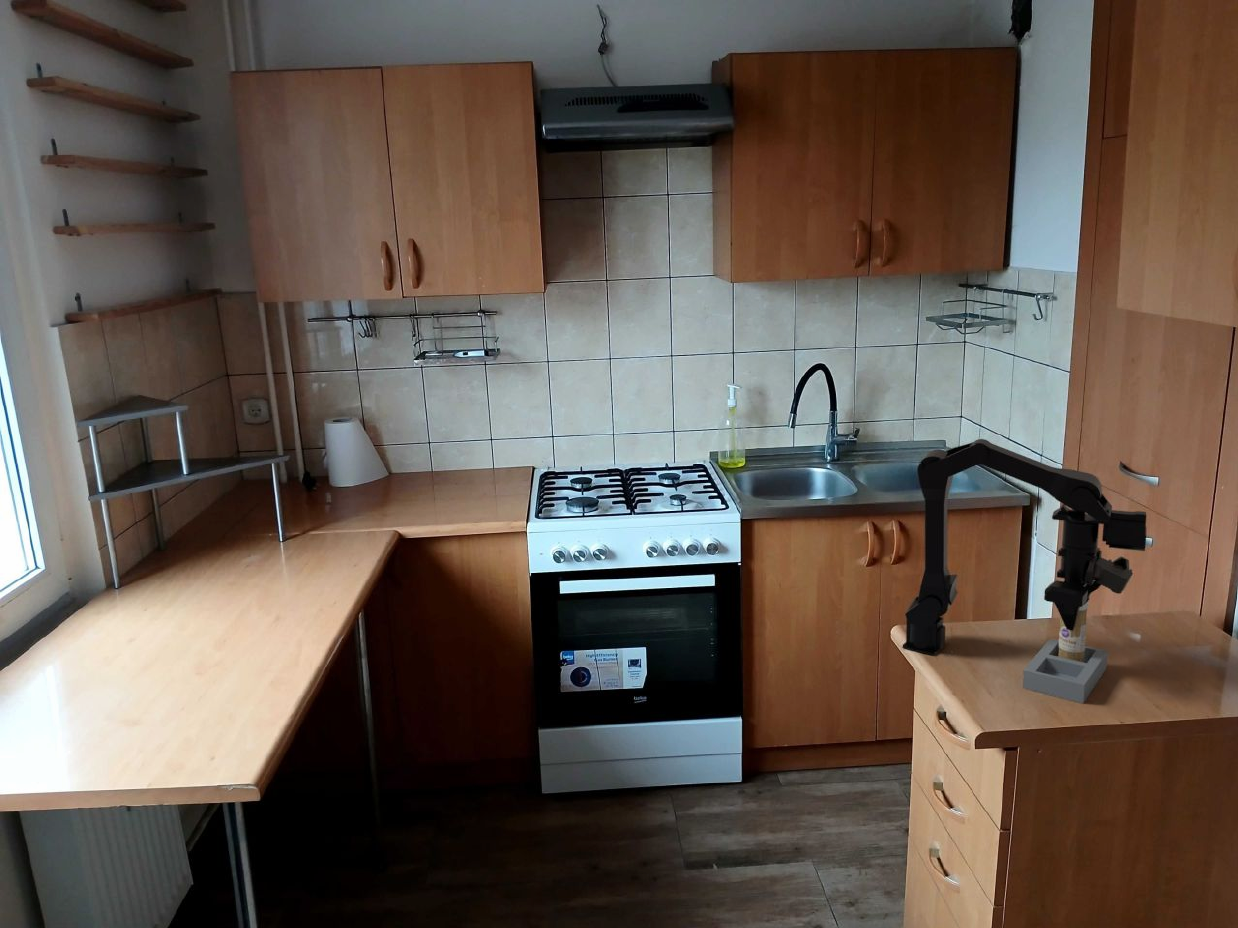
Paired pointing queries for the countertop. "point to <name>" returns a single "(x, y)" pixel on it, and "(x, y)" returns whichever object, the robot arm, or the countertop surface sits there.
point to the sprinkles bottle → (1073, 637)
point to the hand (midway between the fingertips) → (1074, 624)
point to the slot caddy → (1064, 672)
